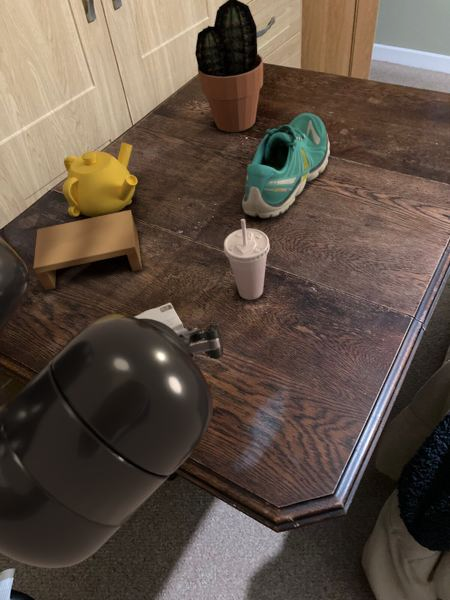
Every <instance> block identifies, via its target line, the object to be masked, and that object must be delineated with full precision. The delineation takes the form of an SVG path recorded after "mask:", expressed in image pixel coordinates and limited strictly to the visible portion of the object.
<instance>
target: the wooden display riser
mask: <svg viewBox="0 0 450 600" xmlns="http://www.w3.org/2000/svg"><path fill="white" fill-rule="evenodd" d="M125 255H126V256H127V259H128V262H129V265H130V268H131V271H132V272H136V271H137V272H138V271H141V270H143V266H142V259H141V249H140V243H139V235H138V230H137V226H136V223H135V220H134V216H133V212H132V210H131V209H128V210H122V211H118V212H116V213H113V214H108V215H104V216H99V217H90V218H89V217H88V218H85V219H80V220H75V221H70V222H65V223H61V224H56V225H51V226H46V227H42V228H38V229H36V238H35V249H34V259H33V270H34V272H35V274H36V276H37V278H38V279H39V282H40V283H41V285H42V287H43V290H45V291H49V290H53V289H56V277H57V270H60V269H64V268H70V267H75V266H78V265H84V264H88V263H93V262H97V261H102V260H107V259H112V258H117V257H120V256H121V257H122V256H125Z"/></svg>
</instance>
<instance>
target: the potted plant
mask: <svg viewBox="0 0 450 600" xmlns="http://www.w3.org/2000/svg"><path fill="white" fill-rule="evenodd" d="M257 29H258V27H257V24H256V22H255V19H254V16H253V14H252V11H251V9H250V6H249V5H248V4H246V3H245V2H242V1H240V0H227V1H225V2H224V3H222V4H221V5H220V6H219V7H218V9H217V10H216V12H215V18H214V24H213V26H212V25H207V27H205V28H202V30H200V31H199V32H197V36H196V37H197V38H196V44H195V52H194V54H195V59H196V63H197V74H198V78H199V79H198V80H199V84H200V89H201V92H202V94H203V95H204V96H205V97H206V100H207V102H208V106H209V108H210V111H211V114H212V117H213V120H214V123H215V126H216V127H217V129H219V130H221V131H223V132H226V133H239V132H243V131H246V130H248V129H250V128H251V127H253V125H255V123H256V118H257V112H258V104H259V97H260V90H261V89H262V87H263V85H264V60H263V57H262V56H261V55H260V54H259V53H258V30H257Z"/></svg>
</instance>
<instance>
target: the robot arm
mask: <svg viewBox="0 0 450 600" xmlns="http://www.w3.org/2000/svg"><path fill="white" fill-rule="evenodd" d="M27 267H28V266H27V265H26V263H25V262H24V260H23V259H22V257H21V256H20V255H19V254H18V253H17V252H16V250H15V249H14V248H13V247H12V246H11V245H10V244H9V243H7V241H5V239H4V238H3V237H1V236H0V336H1V335H2V333H3V332H4V330H5V328H6V326H8V323H9V322H10V320H11V319H12V317H13V316H14V314H15V312H17V309H18V308H19V306H20V305H21V303H22V302H23V299H24V297H25V295H26V293H27V291H28V289H29V288H28V287H29V283H30V274H29V270H28V268H27ZM203 353H204V355H205V358H209V359H214V360H217V359H220V358H221V357H223V356H224V345H223V341H222V337H221V332H220V327H219V324H215V323H211V324H209V325H208V326H206V327H205V329H204V330H201V327H197V326H196V327H189V328H187V327H183V328H182V329H176V330H172V329H171V328H170V327H169V326H167V325H166V324H164V323H162V322H159V321H156V320H153V319H145V318H140V319H138V318H136V317H135V316H132V315H128V314H123V313H109V314H105V315H102V316H100V317H98V318H97V319H95V320H93V321H91V323H89V324H87V325H86V326H85V327H83V328H82V329H81V330H80V331H78V332H77V333H76V334H75V335H74V336H73V337H72V338H71V339H70V340H69V341H68V342H67V343H65V344H64V346H63V347H62V348H60V350H58V351H57V353H56V354H55V355H54V356H53V357H52V359H50V360H49V361H48V362H47V363H46V364H45V365H43V367H41V368H40V370H39V371H38V372H37V373H36V374H35V375H34V376H33V377H32V378H31V379H30V380H29V381H28V382H27V383H26V384H25V385H24V387H22V388H21V389H20V390H19V392H18V393H17V394H16V395H14V397H13V398H12V399H10V398H8V396H7V395H6V393H5V392H4V390H3V388H2V386H1V385H0V554H1V555H2V556H4V557H6V558H9V559H10V560H13V561H16V562H19V563H21V564H23V565H27V566H32V567H36V568H42V569H61V568H62V569H63V568H69V567H73V566H76V565H78V564H80V563H82V562H84V561H86V560H87V559H89V558H90V557H91V556H93V555H94V554H96V553H97V552H98V551H99V550H100V549H101V548H102V547H103V546H104V545H105V544H106V543H107V542H109V540H110V539H111V538H112V537H113V536H114V535H115V534H116V533H117V532H118V531H119V530H120V529H121V528H122V526H124V525H125V523H127V521H128V520H129V519H130V518H131V517H132V516H133V515H134V514H135V513H136V512H137V511H138V510H139V509H140V508H141V507H142V506H143V505H144V504H145V502H147V501H148V500H149V499H150V498H151V497H152V495H153V494H154V493H155V492H157V490H158V489H159V488H160V487H162V486H163V484H164V483H166V481H167V480H168V479H169V478H170V477H171V475H172V474H174V473H175V472H176V471H177V470H178V469H179V468H180V467H181V466H182V465H183V464H184V463H185V462H186V461H187V460H188V458H189V457H190V456H191V455H192V454H193V453H194V452H195V451H196V449H197V448H198V447H199V446H200V445H201V442H202V441H203V439H204V437H205V436H206V434H207V432H208V430H209V427H210V424H211V422H212V419H213V415H214V400H213V395H212V391H211V389H210V387H209V384H208V381H207V379H206V377H205V375H204V374H203V372H202V370H201V368H200V367H199V365H198V364H197V363H196V361H195V357H196V356H199V355H203Z"/></svg>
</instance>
